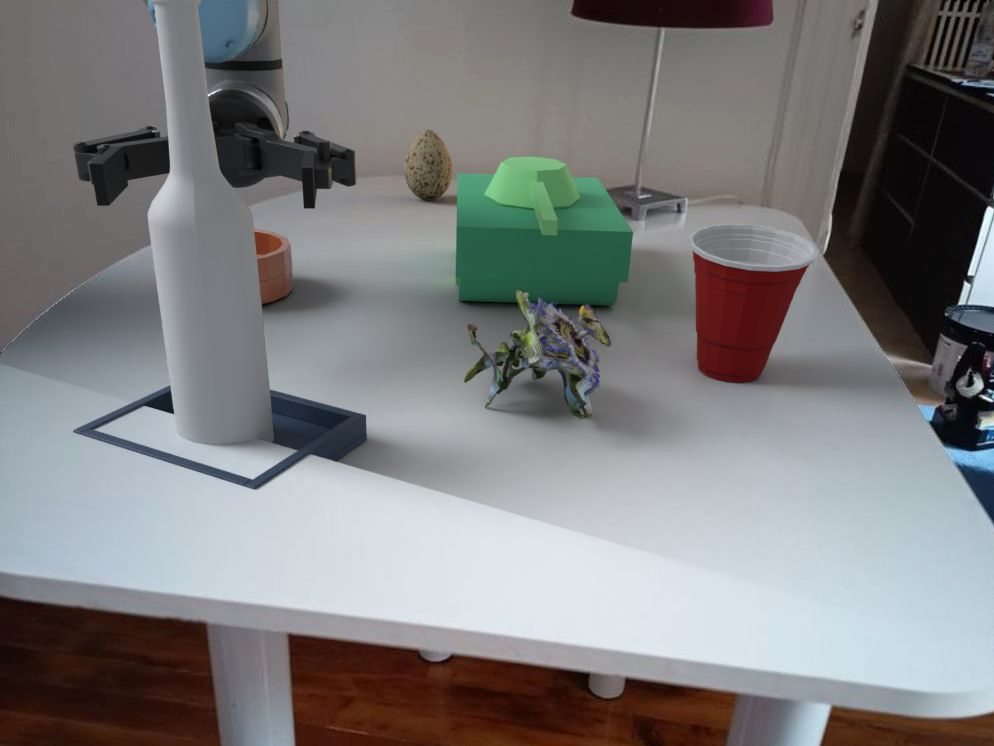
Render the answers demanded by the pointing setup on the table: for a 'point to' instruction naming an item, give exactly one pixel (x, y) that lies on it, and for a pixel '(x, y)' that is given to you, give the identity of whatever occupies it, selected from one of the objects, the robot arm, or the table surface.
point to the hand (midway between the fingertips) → (205, 186)
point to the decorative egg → (428, 166)
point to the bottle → (205, 259)
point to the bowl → (273, 265)
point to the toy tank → (539, 236)
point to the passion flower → (548, 352)
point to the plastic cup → (743, 294)
